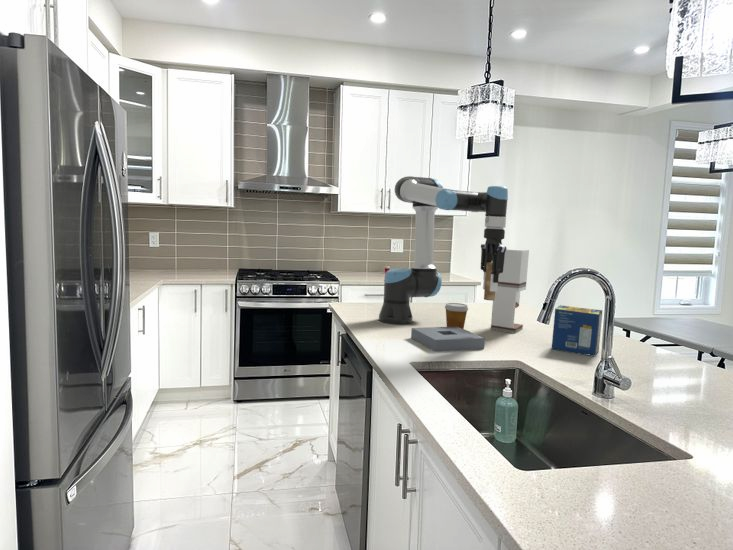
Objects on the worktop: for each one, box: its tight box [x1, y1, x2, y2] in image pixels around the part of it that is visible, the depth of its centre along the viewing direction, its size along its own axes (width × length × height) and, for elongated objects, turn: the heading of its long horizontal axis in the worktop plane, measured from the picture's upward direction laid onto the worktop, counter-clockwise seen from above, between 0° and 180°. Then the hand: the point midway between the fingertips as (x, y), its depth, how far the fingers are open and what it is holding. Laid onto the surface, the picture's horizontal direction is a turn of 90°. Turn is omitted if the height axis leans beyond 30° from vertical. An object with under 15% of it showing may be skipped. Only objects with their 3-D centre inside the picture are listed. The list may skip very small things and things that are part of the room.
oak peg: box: [483, 262, 495, 302], centre depth 195 cm, size 4×4×14 cm
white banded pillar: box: [490, 247, 530, 334], centre depth 223 cm, size 11×11×35 cm
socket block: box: [410, 326, 486, 352], centre depth 193 cm, size 20×20×4 cm
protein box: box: [550, 304, 603, 356], centre depth 192 cm, size 10×15×16 cm
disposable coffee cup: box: [444, 302, 469, 330], centre depth 211 cm, size 10×10×12 cm
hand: (489, 290), depth 195 cm, fingers closed on oak peg, 4 cm apart
